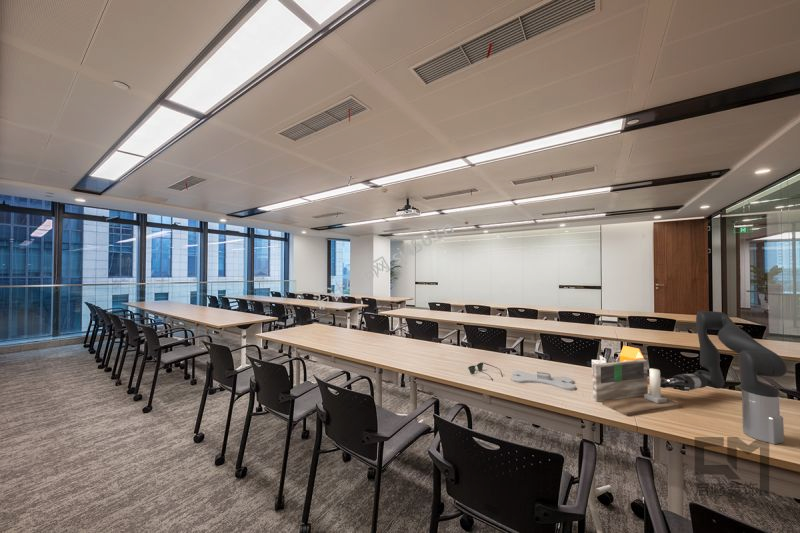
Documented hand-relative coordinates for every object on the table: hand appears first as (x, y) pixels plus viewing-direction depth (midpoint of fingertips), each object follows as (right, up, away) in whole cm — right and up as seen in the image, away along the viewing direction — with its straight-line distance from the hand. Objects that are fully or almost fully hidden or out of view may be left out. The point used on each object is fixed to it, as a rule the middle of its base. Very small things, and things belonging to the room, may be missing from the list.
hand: (661, 385), depth 143 cm
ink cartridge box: (-11, -10, +28) cm, 32 cm away
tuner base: (-13, -9, -1) cm, 16 cm away
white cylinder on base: (-5, -7, +1) cm, 8 cm away
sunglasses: (-75, -10, +40) cm, 86 cm away
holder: (-45, -10, +30) cm, 55 cm away
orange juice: (+9, -10, +29) cm, 32 cm away
